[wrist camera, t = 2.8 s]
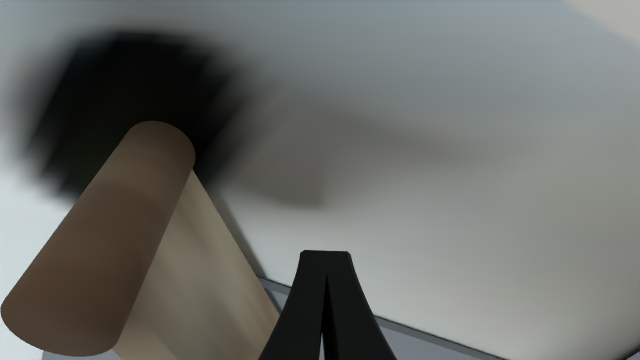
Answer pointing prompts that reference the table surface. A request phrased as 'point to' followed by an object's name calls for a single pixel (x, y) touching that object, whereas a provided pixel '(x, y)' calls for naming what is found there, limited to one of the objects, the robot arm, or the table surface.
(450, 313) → the table surface
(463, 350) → the board
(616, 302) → the table surface
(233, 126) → the table surface
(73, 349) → the wooden plank
